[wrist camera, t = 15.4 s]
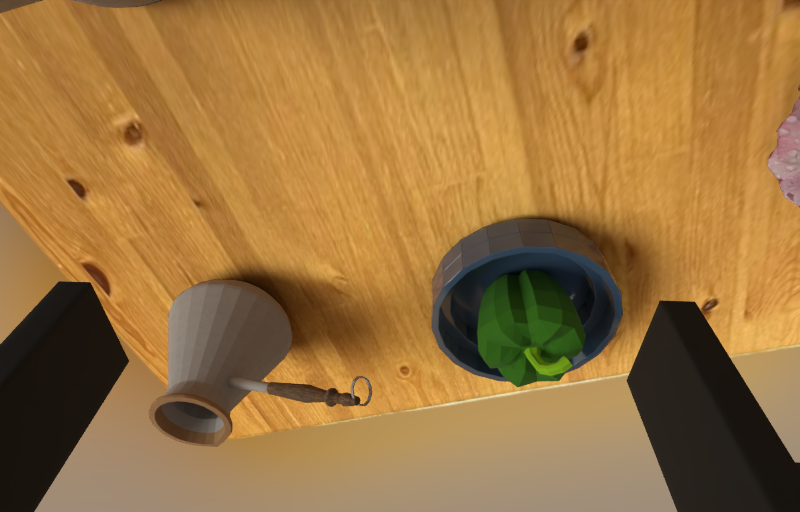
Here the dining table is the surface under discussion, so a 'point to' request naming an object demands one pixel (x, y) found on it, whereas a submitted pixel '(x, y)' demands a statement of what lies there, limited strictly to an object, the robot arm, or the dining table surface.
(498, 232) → the bowl
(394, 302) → the dining table surface
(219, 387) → the coffee pot
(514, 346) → the bell pepper
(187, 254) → the dining table surface
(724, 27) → the dining table surface
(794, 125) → the flower
